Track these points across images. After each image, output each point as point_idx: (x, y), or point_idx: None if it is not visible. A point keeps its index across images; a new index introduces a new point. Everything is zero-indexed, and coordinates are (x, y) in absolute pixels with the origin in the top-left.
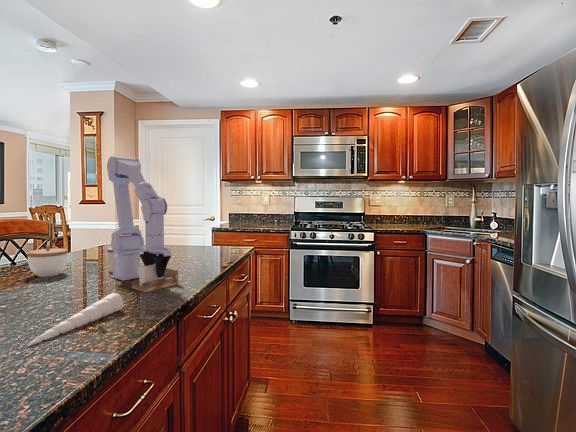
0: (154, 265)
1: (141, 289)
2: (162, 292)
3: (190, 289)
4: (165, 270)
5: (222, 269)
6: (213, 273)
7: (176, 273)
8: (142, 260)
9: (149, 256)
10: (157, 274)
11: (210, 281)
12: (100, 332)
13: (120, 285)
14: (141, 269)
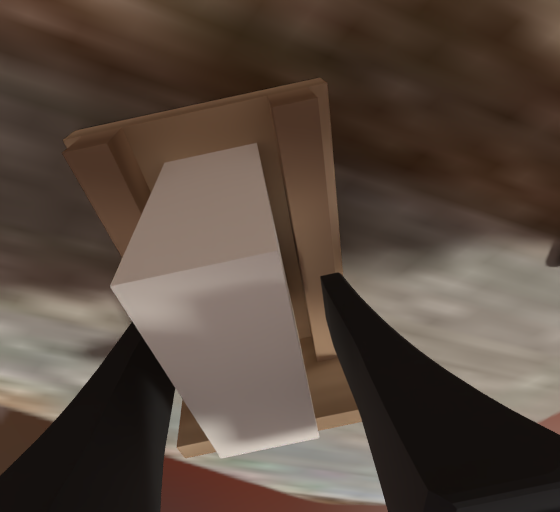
0: (243, 403)
1: (140, 119)
2: (8, 237)
3: (27, 374)
4: (315, 398)
5: (342, 503)
6: (305, 480)
7: (183, 423)
8: (452, 380)
9: (404, 505)
10: (128, 332)
11: (164, 454)
12: None
13: (514, 15)
14: (205, 246)
